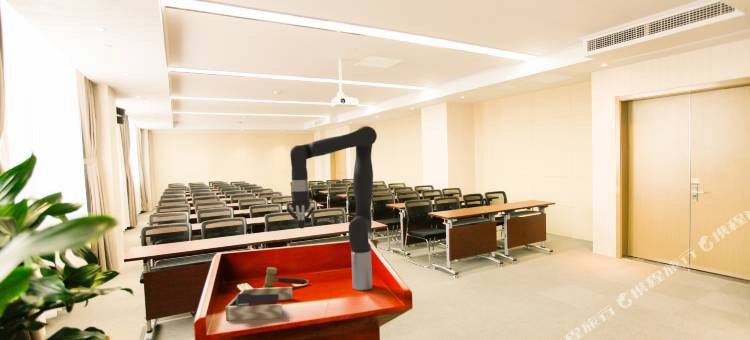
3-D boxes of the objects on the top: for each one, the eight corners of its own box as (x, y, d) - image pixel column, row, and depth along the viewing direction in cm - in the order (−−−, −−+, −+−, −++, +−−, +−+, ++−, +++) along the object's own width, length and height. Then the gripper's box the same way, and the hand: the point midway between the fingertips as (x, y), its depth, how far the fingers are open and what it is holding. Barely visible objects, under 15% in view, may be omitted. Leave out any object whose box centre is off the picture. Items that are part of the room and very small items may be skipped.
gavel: (306, 291, 182) (310, 270, 183) (308, 294, 178) (312, 273, 179) (262, 288, 174) (266, 266, 175) (263, 291, 170) (267, 268, 171)
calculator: (273, 306, 155) (235, 308, 149) (274, 296, 157) (236, 297, 151) (278, 303, 146) (237, 305, 140) (278, 292, 148) (238, 293, 142)
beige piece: (292, 298, 163) (291, 286, 162) (281, 317, 143) (280, 304, 142) (243, 300, 162) (243, 288, 162) (226, 320, 142) (225, 307, 142)
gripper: (316, 188, 173) (317, 226, 173) (287, 189, 172) (289, 227, 173) (313, 190, 165) (315, 229, 166) (283, 191, 165) (285, 230, 165)
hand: (301, 228), depth 169 cm, fingers closed
